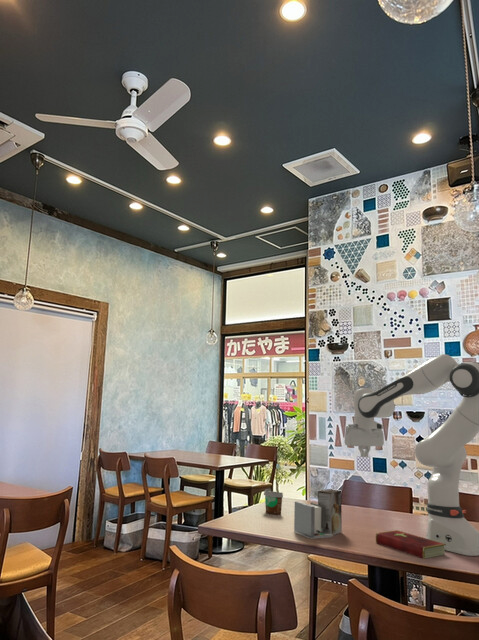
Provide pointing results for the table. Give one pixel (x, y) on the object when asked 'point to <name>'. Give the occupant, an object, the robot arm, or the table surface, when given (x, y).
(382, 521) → the table surface
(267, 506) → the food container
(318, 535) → the gauge housing
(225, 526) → the table surface
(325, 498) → the coffee box
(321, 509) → the block
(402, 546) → the hardcover book
